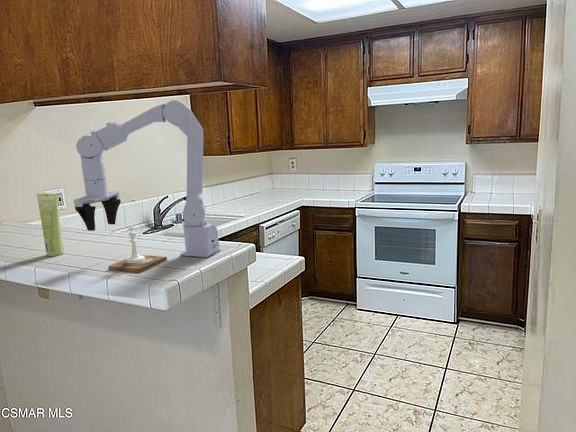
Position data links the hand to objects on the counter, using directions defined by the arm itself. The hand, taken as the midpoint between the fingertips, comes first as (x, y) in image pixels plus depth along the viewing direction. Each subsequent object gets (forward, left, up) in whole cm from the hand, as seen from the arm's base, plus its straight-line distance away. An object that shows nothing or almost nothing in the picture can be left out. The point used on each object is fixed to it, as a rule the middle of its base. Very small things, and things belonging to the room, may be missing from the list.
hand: (101, 227), depth 125 cm
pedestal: (-12, 0, -10) cm, 16 cm away
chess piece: (-11, 0, -9) cm, 14 cm away
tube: (+24, -3, -11) cm, 26 cm away
